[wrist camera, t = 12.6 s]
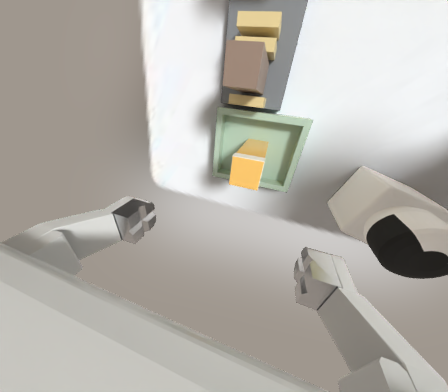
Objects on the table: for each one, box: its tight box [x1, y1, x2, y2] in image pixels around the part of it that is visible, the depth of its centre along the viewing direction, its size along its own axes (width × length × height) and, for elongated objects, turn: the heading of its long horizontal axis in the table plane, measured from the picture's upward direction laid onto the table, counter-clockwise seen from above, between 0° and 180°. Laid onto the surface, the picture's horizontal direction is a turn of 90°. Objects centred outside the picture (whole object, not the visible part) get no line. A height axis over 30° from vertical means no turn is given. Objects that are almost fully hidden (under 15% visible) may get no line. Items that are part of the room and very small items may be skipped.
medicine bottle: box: [327, 166, 448, 279], centre depth 19 cm, size 7×7×12 cm
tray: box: [212, 107, 313, 192], centre depth 24 cm, size 12×10×3 cm
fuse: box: [229, 139, 269, 191], centre depth 20 cm, size 3×3×10 cm
